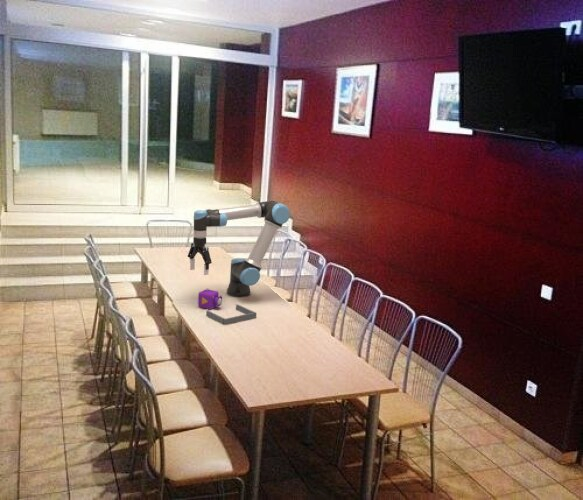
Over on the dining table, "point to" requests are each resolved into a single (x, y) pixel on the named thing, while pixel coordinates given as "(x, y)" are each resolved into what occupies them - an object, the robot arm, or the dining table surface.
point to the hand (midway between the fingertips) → (199, 272)
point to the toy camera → (209, 299)
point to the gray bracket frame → (247, 316)
